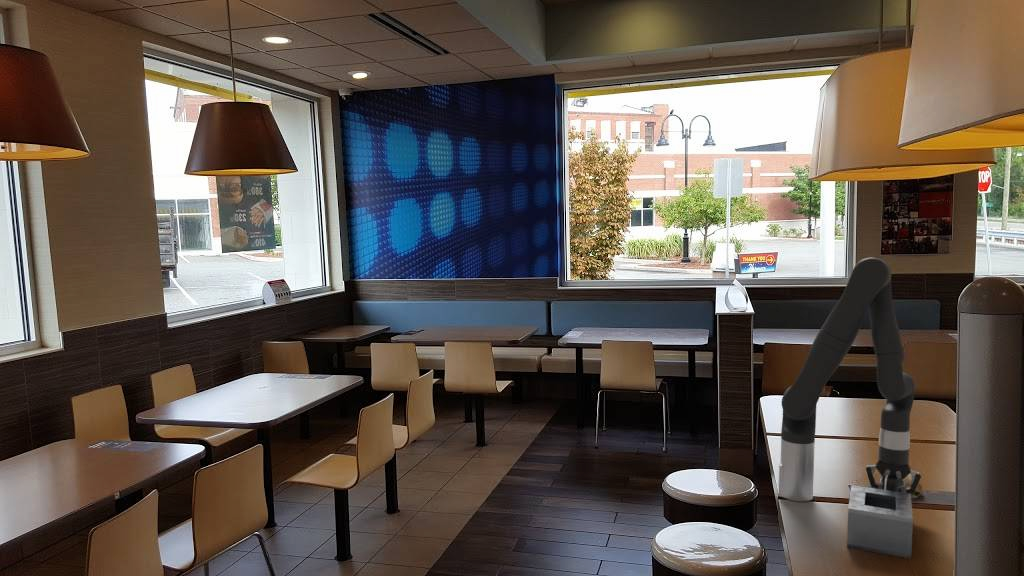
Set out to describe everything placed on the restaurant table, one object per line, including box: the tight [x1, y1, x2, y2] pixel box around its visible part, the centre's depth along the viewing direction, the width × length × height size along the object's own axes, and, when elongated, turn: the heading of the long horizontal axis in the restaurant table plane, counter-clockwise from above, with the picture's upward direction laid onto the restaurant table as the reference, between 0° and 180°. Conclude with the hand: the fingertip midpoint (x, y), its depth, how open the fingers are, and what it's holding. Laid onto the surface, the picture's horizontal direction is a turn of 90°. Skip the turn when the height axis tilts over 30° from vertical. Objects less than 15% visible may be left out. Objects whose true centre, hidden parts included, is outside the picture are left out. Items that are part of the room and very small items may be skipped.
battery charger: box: [882, 476, 901, 492], centre depth 195 cm, size 7×4×11 cm, turn 138°
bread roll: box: [904, 474, 923, 499], centre depth 211 cm, size 10×10×8 cm
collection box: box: [846, 484, 914, 560], centre depth 179 cm, size 14×18×10 cm
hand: (891, 504), depth 195 cm, fingers closed on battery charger, 4 cm apart
